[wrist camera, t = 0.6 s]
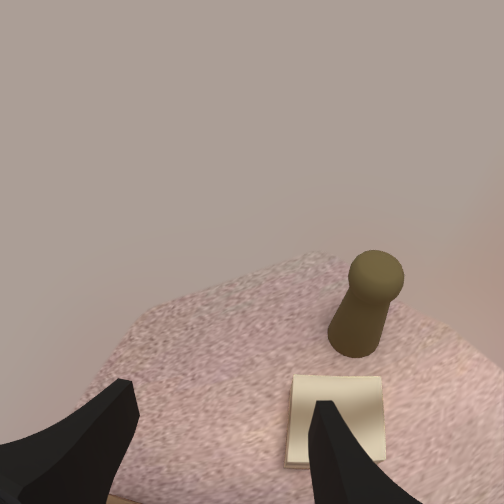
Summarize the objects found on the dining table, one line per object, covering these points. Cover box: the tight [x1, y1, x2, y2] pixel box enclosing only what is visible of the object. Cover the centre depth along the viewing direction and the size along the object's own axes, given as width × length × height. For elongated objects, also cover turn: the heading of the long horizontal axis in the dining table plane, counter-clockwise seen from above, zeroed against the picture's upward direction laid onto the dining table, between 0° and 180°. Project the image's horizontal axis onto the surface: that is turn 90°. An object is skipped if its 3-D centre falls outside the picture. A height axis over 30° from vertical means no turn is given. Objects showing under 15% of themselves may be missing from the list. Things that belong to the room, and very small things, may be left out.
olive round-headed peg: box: [328, 250, 404, 358], centre depth 30 cm, size 6×6×11 cm
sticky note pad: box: [284, 374, 386, 469], centre depth 24 cm, size 8×8×4 cm
